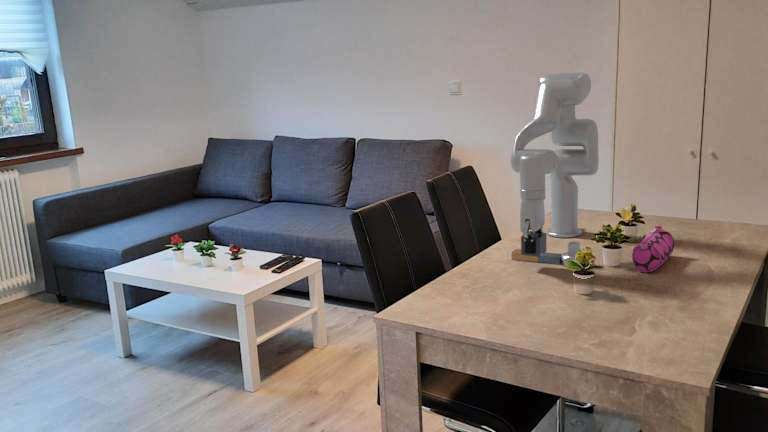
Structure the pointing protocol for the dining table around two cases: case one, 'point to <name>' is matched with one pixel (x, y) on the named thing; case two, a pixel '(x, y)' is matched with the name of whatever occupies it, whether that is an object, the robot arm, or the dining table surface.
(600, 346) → the dining table surface
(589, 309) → the dining table surface
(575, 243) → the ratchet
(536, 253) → the dark slate cube
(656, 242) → the pencil case
